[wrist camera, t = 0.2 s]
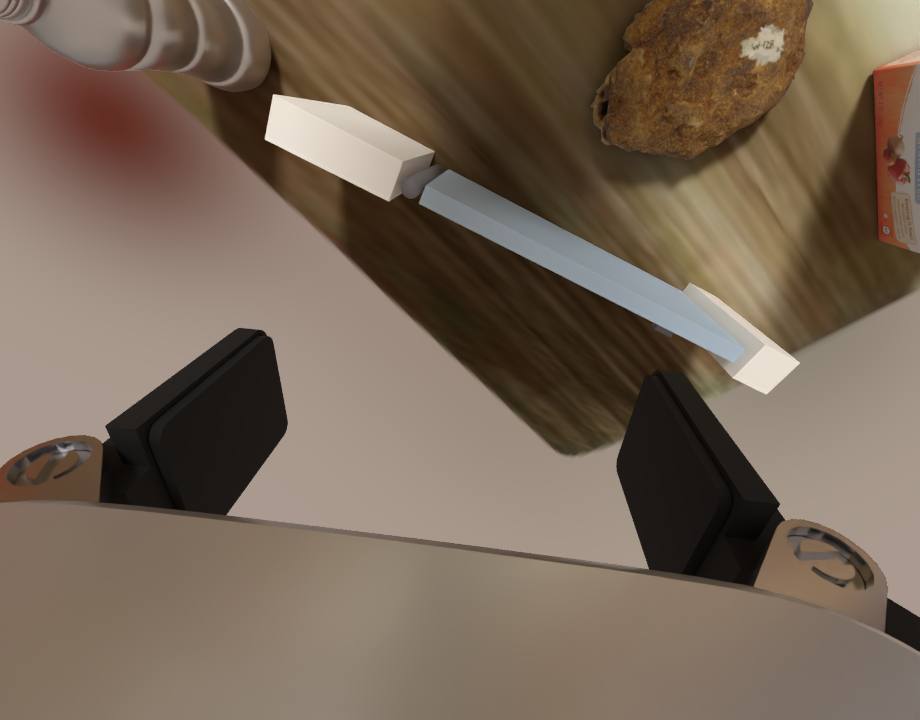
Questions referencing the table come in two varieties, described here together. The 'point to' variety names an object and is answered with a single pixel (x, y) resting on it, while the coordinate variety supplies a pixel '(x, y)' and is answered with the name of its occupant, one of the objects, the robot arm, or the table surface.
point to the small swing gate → (398, 157)
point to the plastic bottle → (153, 36)
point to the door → (568, 257)
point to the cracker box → (898, 151)
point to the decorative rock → (699, 73)
